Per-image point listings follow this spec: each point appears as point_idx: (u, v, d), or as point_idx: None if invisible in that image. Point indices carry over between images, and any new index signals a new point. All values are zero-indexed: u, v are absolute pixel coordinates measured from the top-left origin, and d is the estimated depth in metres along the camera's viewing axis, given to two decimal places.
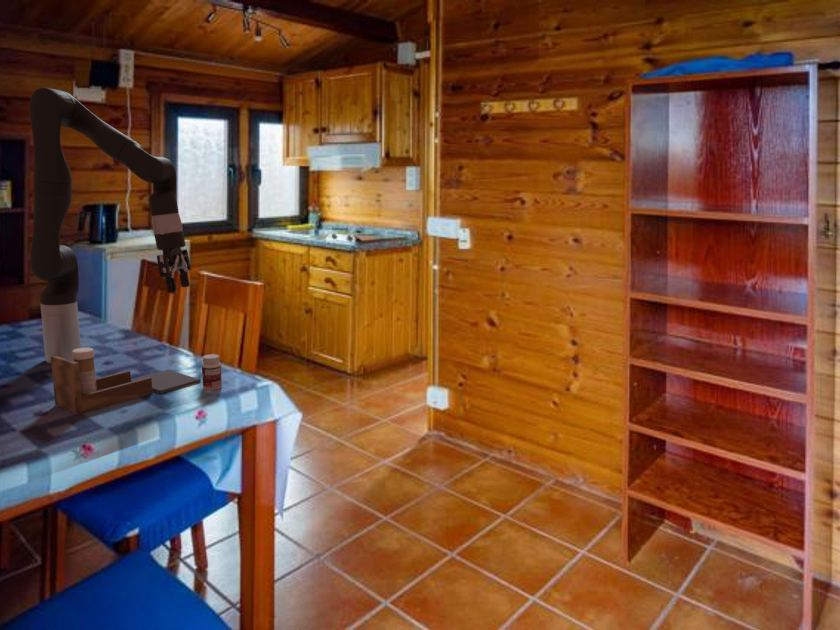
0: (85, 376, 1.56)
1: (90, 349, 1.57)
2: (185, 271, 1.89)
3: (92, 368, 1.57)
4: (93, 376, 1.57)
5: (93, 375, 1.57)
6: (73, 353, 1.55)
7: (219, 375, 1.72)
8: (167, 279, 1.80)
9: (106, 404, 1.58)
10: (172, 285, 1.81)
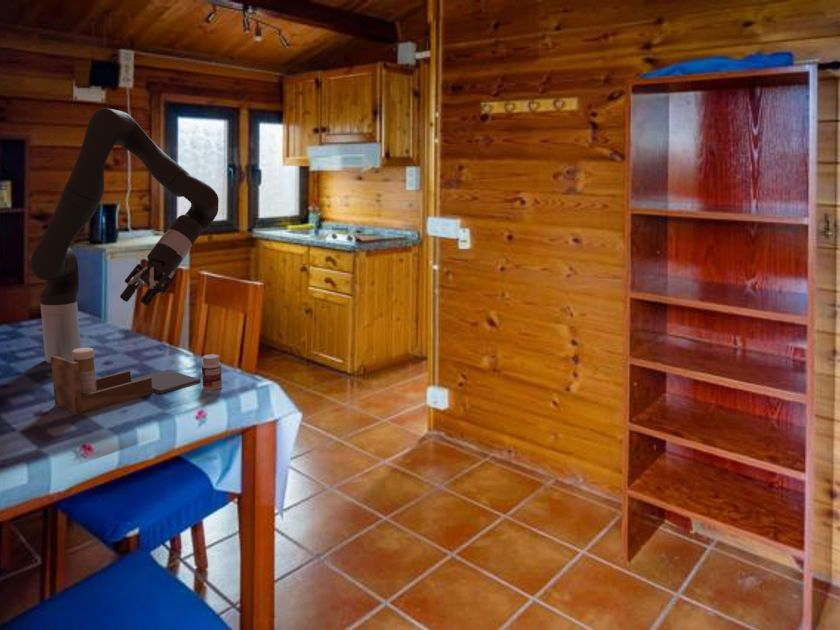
0: (85, 376, 1.56)
1: (90, 349, 1.57)
2: (136, 288, 1.70)
3: (92, 368, 1.57)
4: (93, 376, 1.57)
5: (93, 375, 1.57)
6: (73, 353, 1.55)
7: (219, 375, 1.72)
8: (154, 291, 1.64)
9: (106, 404, 1.58)
10: None
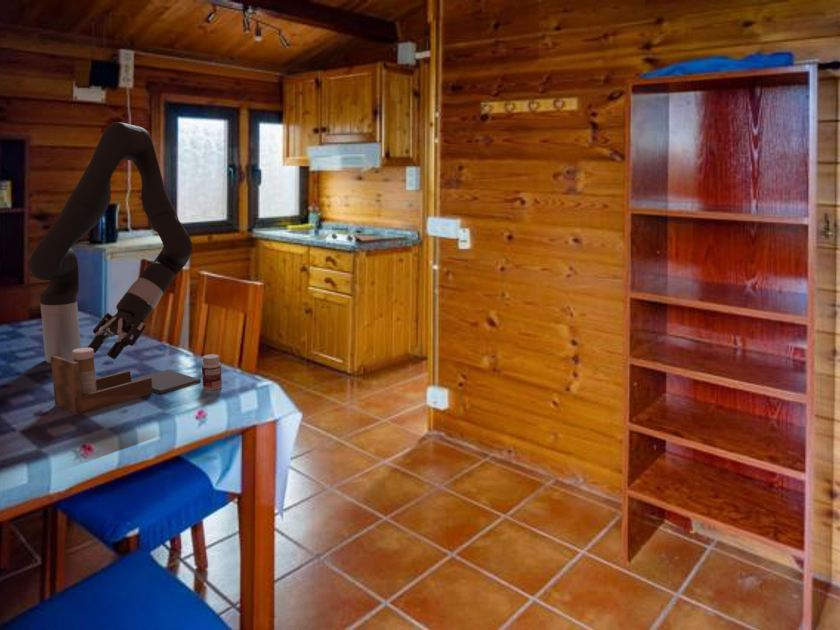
0: (85, 376, 1.56)
1: (90, 349, 1.57)
2: (104, 338, 1.65)
3: (92, 368, 1.57)
4: (93, 376, 1.57)
5: (93, 375, 1.57)
6: (73, 353, 1.55)
7: (219, 375, 1.72)
8: (122, 344, 1.59)
9: (106, 404, 1.58)
10: None
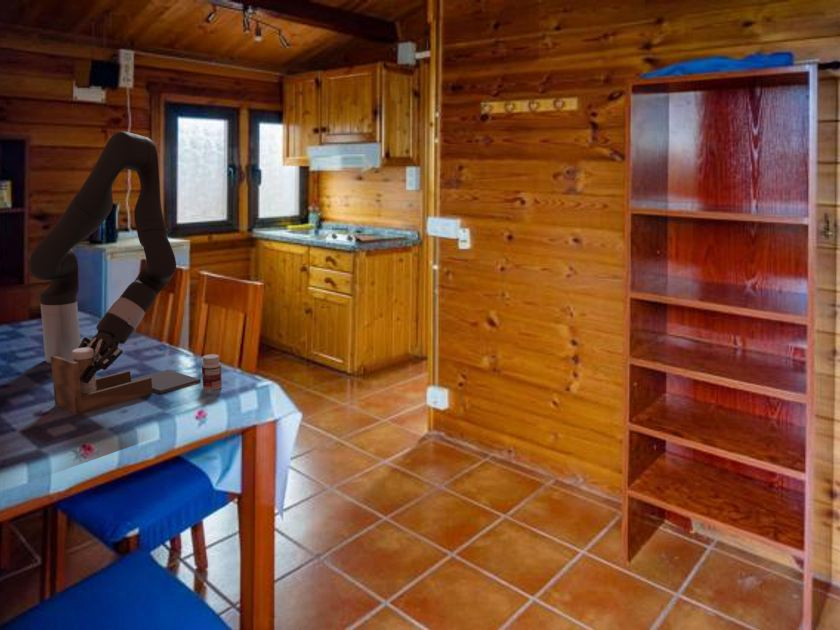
0: None
1: (90, 349, 1.57)
2: None
3: None
4: (93, 376, 1.57)
5: None
6: (73, 352, 1.55)
7: (219, 375, 1.72)
8: (94, 368, 1.56)
9: (106, 404, 1.58)
10: None
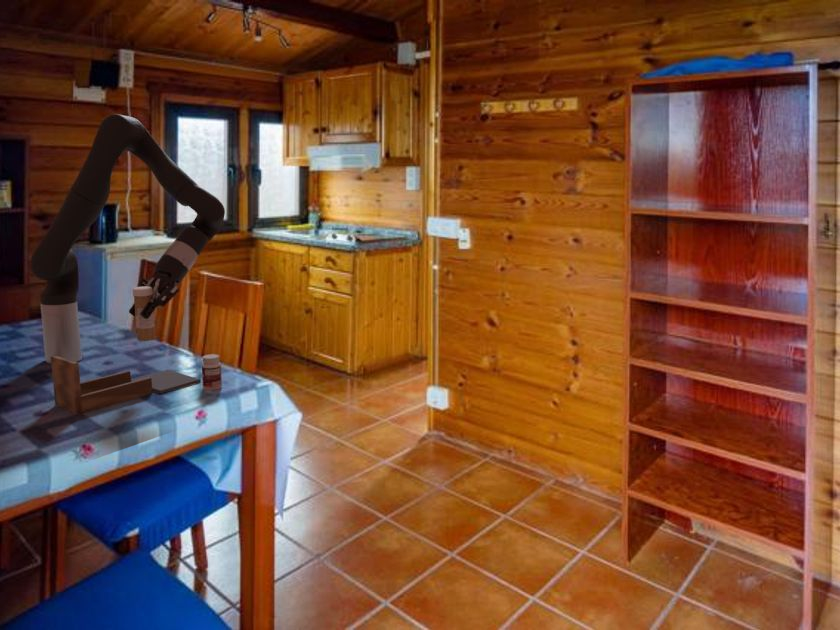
0: None
1: (149, 287, 1.67)
2: None
3: None
4: (152, 313, 1.68)
5: None
6: (134, 290, 1.65)
7: (219, 375, 1.72)
8: (153, 305, 1.66)
9: (106, 404, 1.58)
10: None
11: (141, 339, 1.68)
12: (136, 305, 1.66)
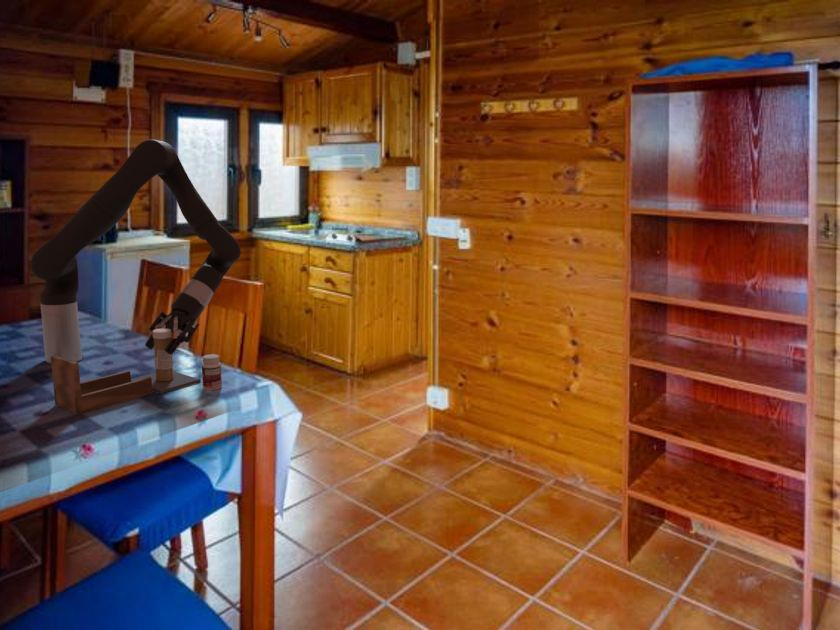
0: (164, 353, 1.73)
1: (168, 329, 1.74)
2: None
3: None
4: None
5: None
6: (154, 332, 1.71)
7: (219, 375, 1.72)
8: (178, 341, 1.72)
9: (106, 404, 1.58)
10: None
11: (160, 379, 1.74)
12: (156, 347, 1.72)
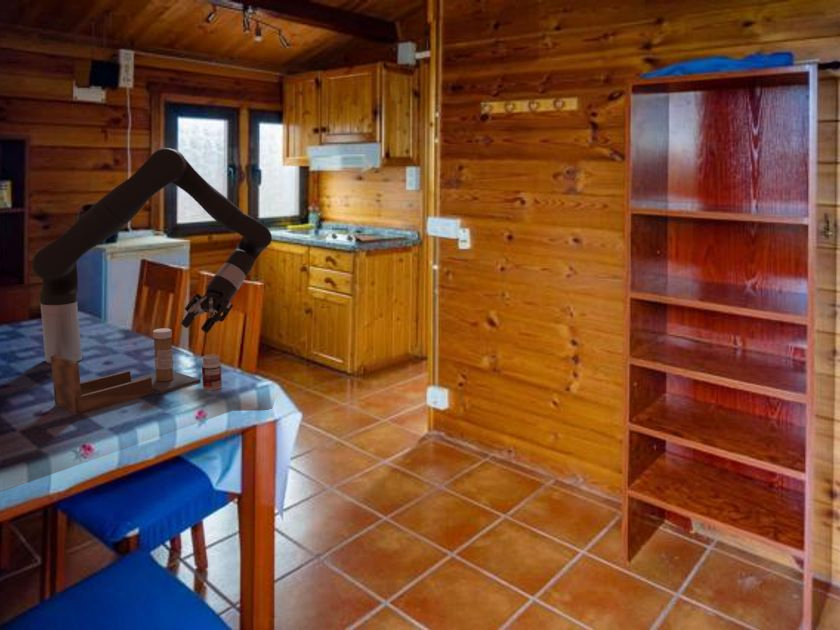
0: (164, 353, 1.73)
1: (168, 329, 1.74)
2: (195, 315, 1.88)
3: (170, 347, 1.74)
4: (171, 354, 1.74)
5: (170, 353, 1.74)
6: (154, 332, 1.72)
7: (219, 375, 1.72)
8: (213, 320, 1.82)
9: (106, 404, 1.58)
10: None
11: (160, 379, 1.74)
12: (156, 347, 1.72)
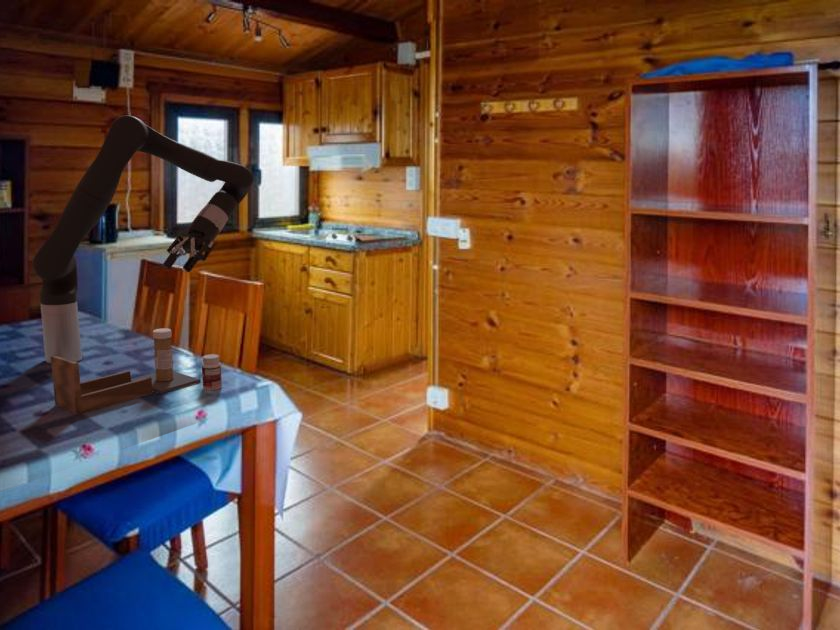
0: (164, 353, 1.73)
1: (168, 329, 1.74)
2: (177, 256, 1.86)
3: (170, 347, 1.74)
4: (171, 354, 1.74)
5: (170, 353, 1.74)
6: (154, 332, 1.71)
7: (219, 375, 1.72)
8: (195, 259, 1.80)
9: (106, 404, 1.58)
10: None
11: (160, 379, 1.74)
12: (156, 347, 1.72)
